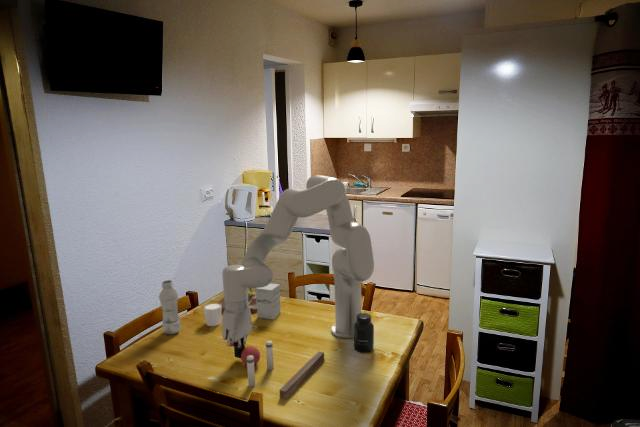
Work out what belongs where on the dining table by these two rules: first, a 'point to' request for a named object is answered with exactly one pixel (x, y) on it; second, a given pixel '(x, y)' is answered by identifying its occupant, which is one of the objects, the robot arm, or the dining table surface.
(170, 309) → the plastic bottle
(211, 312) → the white cup
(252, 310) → the plant
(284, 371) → the dining table surface
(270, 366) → the pin
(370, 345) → the supplement bottle
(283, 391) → the back wall
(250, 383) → the side pin
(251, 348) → the ball
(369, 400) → the dining table surface
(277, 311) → the supplement box
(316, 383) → the dining table surface
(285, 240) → the robot arm
